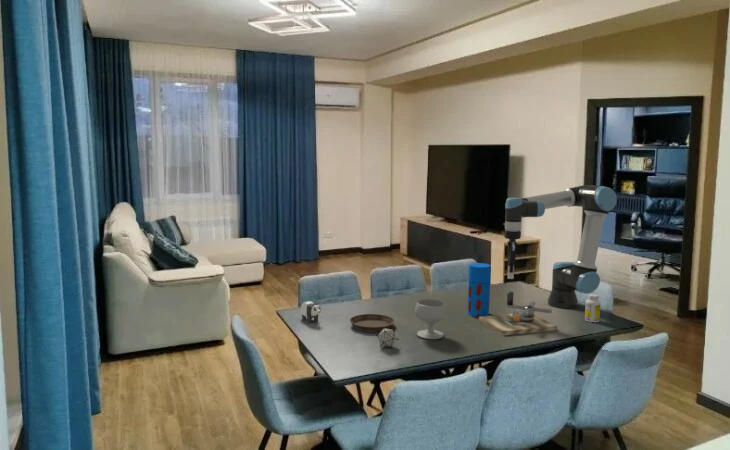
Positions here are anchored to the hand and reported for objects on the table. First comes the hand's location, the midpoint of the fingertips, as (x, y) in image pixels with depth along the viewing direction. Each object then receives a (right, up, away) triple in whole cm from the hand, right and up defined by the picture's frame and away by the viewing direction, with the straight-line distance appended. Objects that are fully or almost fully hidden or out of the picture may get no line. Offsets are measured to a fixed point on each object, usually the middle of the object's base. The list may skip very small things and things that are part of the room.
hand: (510, 278), depth 265 cm
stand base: (+1, -21, -7) cm, 22 cm away
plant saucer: (-67, -22, -10) cm, 71 cm away
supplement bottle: (+40, -21, +1) cm, 45 cm away
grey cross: (+6, -19, -7) cm, 21 cm away
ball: (0, -19, -9) cm, 21 cm away
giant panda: (-96, -20, -3) cm, 98 cm away
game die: (-61, -25, -36) cm, 75 cm away
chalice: (-41, -23, -22) cm, 52 cm away
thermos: (-14, -19, +11) cm, 26 cm away
